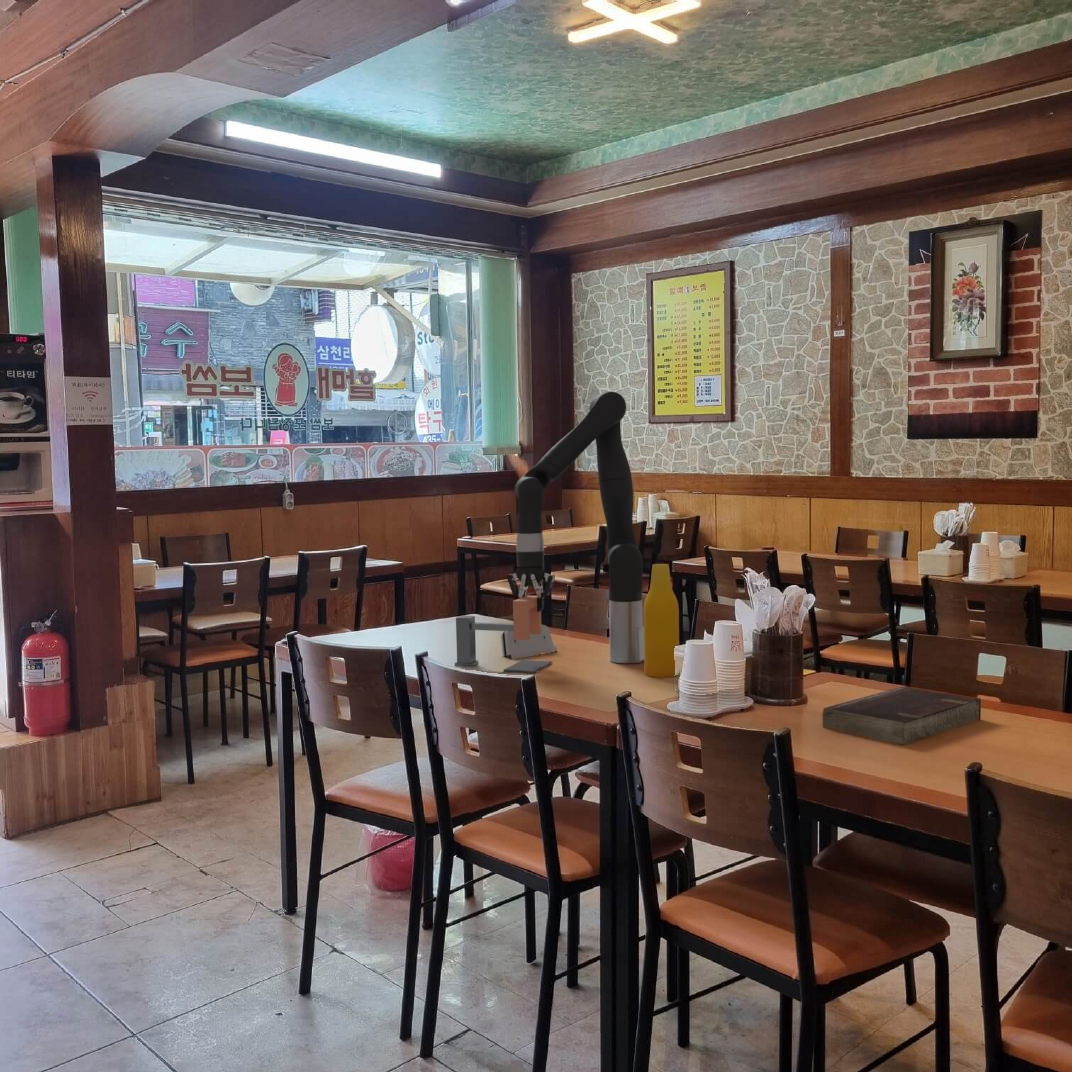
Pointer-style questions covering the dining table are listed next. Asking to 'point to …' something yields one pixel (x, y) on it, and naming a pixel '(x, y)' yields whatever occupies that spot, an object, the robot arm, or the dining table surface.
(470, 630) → the bracket
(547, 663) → the mat
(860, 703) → the hardback book
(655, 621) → the beer bottle
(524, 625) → the pink block
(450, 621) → the dining table surface
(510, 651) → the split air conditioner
